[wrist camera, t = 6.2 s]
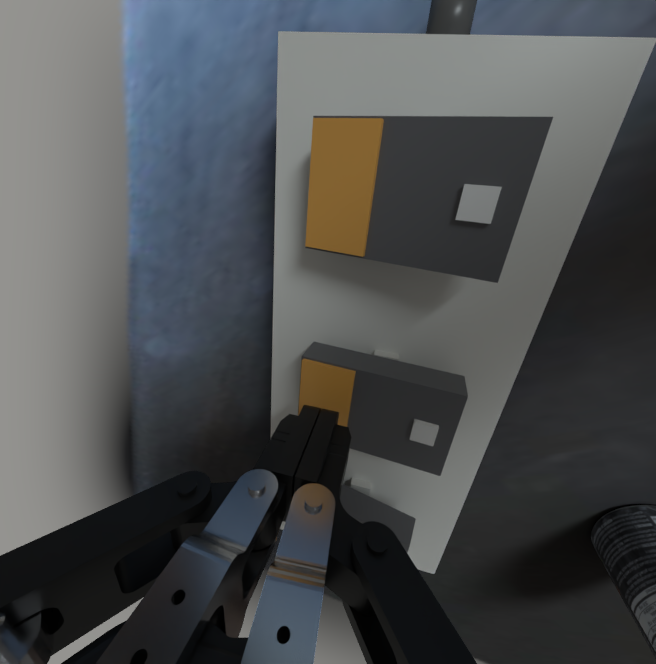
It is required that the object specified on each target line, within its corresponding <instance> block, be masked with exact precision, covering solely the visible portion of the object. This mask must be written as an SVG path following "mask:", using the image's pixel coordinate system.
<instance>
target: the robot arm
mask: <svg viewBox="0 0 656 664" xmlns="http://www.w3.org/2000/svg"><path fill="white" fill-rule="evenodd" d="M338 418H339V412H337V411H332V410H328V409H323V408H322V409H321V408H318V407H314V406H309V405H304V406H303V408H302V410H301V412H300V414H299V416H297V415H293V414H289V415H287V416H286V417H285V418H283V419H282V420H281V421H280V423H279V424H278V426H277V428H276V430H275V432H274V433H273V435H272V437H271V440H270V441H269V442H268V444H267V446H266V448H265V449H264V451H263V453H262V455H261V457H260V458H259V460H258V462H257V464H256V466H255V467H254V469H253V470H251V471H249V472H247V473H245V474H244V475H242V476H241V477H240V478H239V480H238V481H235V482H229V483H210V479H209V477H208V476H207V475H206V474H204V473H202V472H199V471H189V472H185V473H182V474H180V475H178V476H176V477H173V478H171V479H169V480H167V481H165V482H162V483H160V484H158V485H156V486H154V487H151V488H149V489H147V490H145V491H142V492H140V493H138V494H136V495H134V496H131V497H129V498H127V499H125V500H123V501H121V502H118V503H116V504H114V505H112V506H109V507H107V508H105V509H103V510H101V511H98V512H96V513H94V514H92V515H90V516H87V517H85V518H83V519H81V520H78V521H76V522H74V523H72V524H70V525H67V526H65V527H63V528H61V529H58V530H56V531H54V532H52V533H50V534H48V535H45V536H43V537H41V538H39V539H37V540H34V541H32V542H30V543H28V544H25V545H23V546H21V547H19V548H16V549H14V550H12V551H10V552H8V553H5V554H3V555H1V556H0V664H47V663H48V661H49V659H50V656H52V655H53V654H55V653H56V652H58V651H59V650H61V649H63V648H64V647H66V646H67V645H69V644H70V643H72V642H74V641H75V640H77V639H78V638H80V637H81V636H83V635H85V634H86V633H88V632H89V631H91V630H92V629H94V628H96V627H97V626H99V625H100V624H102V623H103V622H105V621H107V620H108V619H110V618H111V617H113V616H114V615H116V614H118V613H119V612H121V611H122V610H124V609H125V608H127V607H128V606H130V605H132V604H133V603H135V602H136V601H138V600H140V599H141V598H143V597H144V598H143V599H142V600H141V602H140V603H139V605H138V606H137V607H136V609H135V610H134V612H133V613H132V614H131V616H130V617H129V618H128V620H127V621H125V622H123V623H121V624H119V625H117V626H115V627H114V628H112V629H111V630H109V631H108V632H106V633H105V634H103V635H102V636H101V637H99V638H97V639H96V640H95V641H93V642H92V643H90V644H89V645H87V646H86V647H84V648H83V649H82V650H80V651H79V652H77V653H76V654H74V655H73V656H71V657H70V658H68V659H67V660H66V661H64V662H63V663H61V664H313V662H314V655H315V648H316V641H317V633H318V627H319V619H320V612H321V605H322V598H323V591H324V585H325V586H327V587H328V588H329V589H330V590H331V591H333V592H334V593H335V594H336V595H338V596H339V597H340V598H341V599H342V601H343V605H344V608H345V610H346V613H347V616H348V618H349V620H350V623H351V626H352V628H353V630H354V633H355V635H356V638H357V640H358V643H359V645H360V647H361V650H362V652H363V655H364V657H365V660H366V662H367V664H477V663H476V661H475V660H474V658H473V657H472V655H471V653H470V652H469V650H468V649H467V647H466V645H465V644H464V642H463V641H462V639H461V638H460V636H459V634H458V633H457V631H456V630H455V628H454V626H453V625H452V623H451V622H450V620H449V619H448V617H447V615H446V614H445V612H444V611H443V609H442V607H441V606H440V604H439V603H438V601H437V600H436V598H435V596H434V595H433V593H432V592H431V590H430V588H429V587H428V585H427V584H426V582H425V581H424V579H423V577H422V576H421V574H420V573H419V571H418V570H417V568H416V566H415V565H414V563H413V562H412V560H411V558H410V557H409V555H408V554H407V552H406V551H405V549H404V547H403V546H402V544H401V543H400V541H399V539H398V538H397V536H396V535H395V533H394V532H393V531H392V530H391V529H390V528H389V527H387V526H386V525H384V524H382V523H380V522H376V521H368V522H365V523H363V524H362V523H360V522H359V521H357V520H356V519H354V518H353V517H352V516H350V515H349V514H348V513H347V512H346V511H345V509H344V508H343V506H342V504H341V502H340V495H341V491H342V486H343V481H344V477H345V472H346V467H347V462H348V456H349V450H350V443H351V434H350V431H349V427H345V426H341V425H338ZM282 521H284V522H286V523H285V526H284V530H283V533H282V537H281V540H280V544H279V547H278V551H277V554H276V558H275V560H274V563H272V564H271V566H270V568H269V570H268V574H267V576H266V580H265V583H264V586H263V590H262V594H261V597H260V600H259V604H258V607H257V610H256V614H255V617H254V621H253V624H252V627H251V631H250V634H249V637H248V638H238V636H239V633H240V631H241V628H242V624H243V621H244V617H245V613H246V609H247V606H248V604H249V601H250V599H251V597H252V595H253V592H254V590H255V588H256V586H257V584H258V581H259V579H260V577H261V575H262V572H263V570H264V568H265V566H266V564H267V562H268V559H269V557H270V555H271V553H272V551H273V548H274V546H275V543H276V539H277V535H278V532H279V529H280V527H281V524H282Z"/></svg>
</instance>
